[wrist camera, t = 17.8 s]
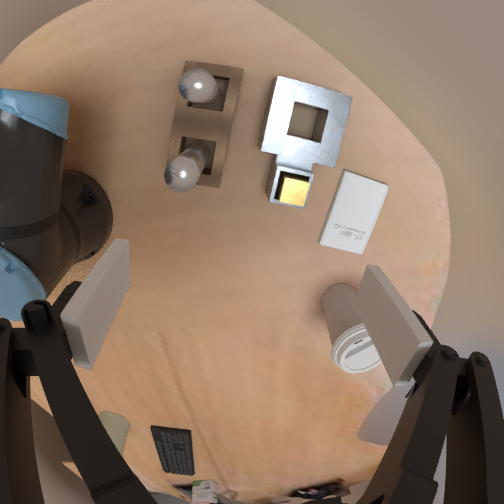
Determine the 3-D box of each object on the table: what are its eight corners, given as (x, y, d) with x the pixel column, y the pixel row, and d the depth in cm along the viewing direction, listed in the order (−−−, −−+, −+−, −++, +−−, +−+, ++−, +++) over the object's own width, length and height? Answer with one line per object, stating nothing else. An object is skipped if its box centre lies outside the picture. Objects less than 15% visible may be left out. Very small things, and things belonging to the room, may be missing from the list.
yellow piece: (273, 189, 44) (279, 201, 38) (278, 168, 42) (285, 177, 37) (295, 193, 44) (303, 206, 39) (300, 172, 43) (310, 183, 37)
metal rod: (197, 102, 39) (175, 99, 24) (201, 80, 37) (182, 66, 23) (219, 105, 39) (210, 104, 25) (224, 84, 38) (217, 70, 23)
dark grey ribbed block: (150, 423, 72) (149, 429, 71) (190, 428, 74) (190, 434, 72) (164, 468, 88) (163, 473, 86) (194, 472, 89) (194, 476, 87)
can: (101, 423, 73) (92, 455, 62) (98, 408, 69) (87, 442, 58) (130, 431, 74) (123, 464, 63) (129, 416, 70) (121, 452, 59)
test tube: (186, 160, 42) (162, 189, 28) (190, 139, 41) (166, 157, 27) (208, 164, 43) (195, 194, 29) (212, 142, 41) (200, 162, 27)
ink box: (198, 484, 95) (197, 509, 85) (192, 481, 93) (191, 506, 82) (217, 483, 94) (217, 508, 84) (212, 479, 92) (211, 505, 81)
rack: (220, 180, 44) (219, 188, 40) (170, 173, 43) (165, 179, 39) (242, 72, 37) (243, 68, 33) (190, 64, 36) (185, 60, 32)
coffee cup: (363, 271, 52) (398, 325, 39) (360, 313, 57) (389, 368, 43) (312, 280, 53) (335, 339, 39) (313, 322, 57) (332, 382, 43)
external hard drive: (385, 183, 46) (359, 250, 51) (342, 168, 44) (316, 240, 50) (390, 186, 44) (362, 255, 50) (345, 170, 43) (319, 245, 48)
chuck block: (248, 188, 45) (250, 198, 40) (273, 79, 38) (277, 75, 33) (313, 201, 46) (321, 212, 42) (340, 97, 39) (352, 97, 35)
